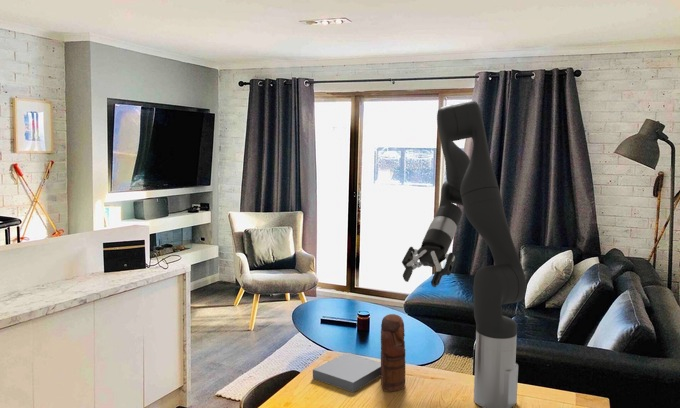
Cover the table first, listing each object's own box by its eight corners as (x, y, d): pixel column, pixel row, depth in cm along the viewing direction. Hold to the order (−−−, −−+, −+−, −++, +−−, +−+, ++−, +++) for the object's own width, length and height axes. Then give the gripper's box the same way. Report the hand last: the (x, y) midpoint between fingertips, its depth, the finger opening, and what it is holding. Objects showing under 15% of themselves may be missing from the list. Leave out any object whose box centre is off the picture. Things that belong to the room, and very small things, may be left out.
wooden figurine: (406, 393, 136) (407, 322, 134) (380, 392, 137) (381, 322, 135) (403, 373, 148) (404, 308, 146) (379, 373, 148) (380, 307, 147)
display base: (385, 372, 149) (385, 363, 148) (353, 392, 137) (353, 382, 137) (346, 360, 157) (346, 352, 156) (312, 378, 145) (312, 369, 144)
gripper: (413, 225, 160) (391, 271, 153) (459, 230, 152) (438, 279, 144) (421, 240, 165) (401, 285, 157) (466, 246, 157) (446, 294, 149)
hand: (419, 282), depth 151 cm, fingers open, 8 cm apart
